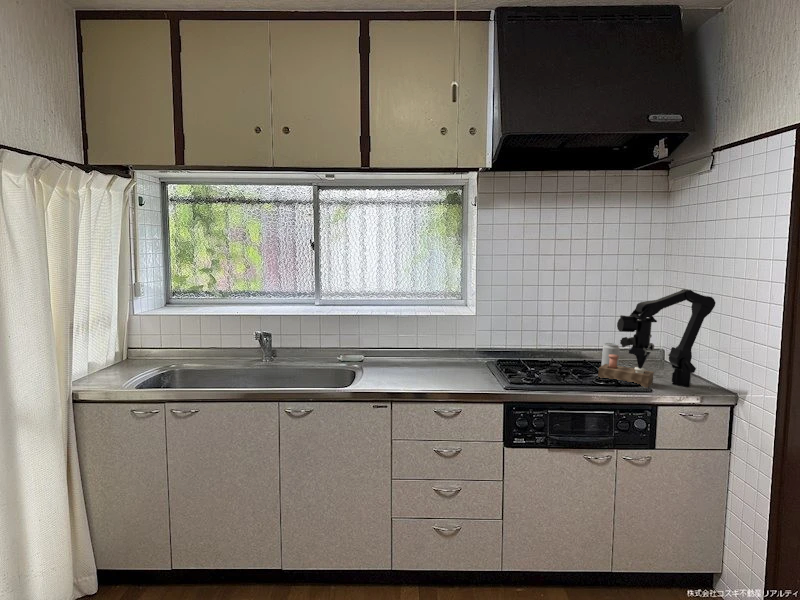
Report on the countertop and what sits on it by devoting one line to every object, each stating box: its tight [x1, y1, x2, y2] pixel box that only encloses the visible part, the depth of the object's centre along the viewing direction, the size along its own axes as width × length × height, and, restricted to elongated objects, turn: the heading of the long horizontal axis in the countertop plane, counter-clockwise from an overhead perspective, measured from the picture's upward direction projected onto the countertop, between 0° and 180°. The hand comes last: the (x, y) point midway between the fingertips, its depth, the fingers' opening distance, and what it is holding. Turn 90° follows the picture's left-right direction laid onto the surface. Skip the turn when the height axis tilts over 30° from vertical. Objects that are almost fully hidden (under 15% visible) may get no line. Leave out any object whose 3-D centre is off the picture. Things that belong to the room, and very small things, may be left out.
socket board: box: [597, 364, 655, 389], centre depth 223 cm, size 20×10×5 cm, turn 53°
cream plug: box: [634, 366, 646, 374], centre depth 220 cm, size 4×4×6 cm
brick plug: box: [609, 354, 620, 369], centre depth 226 cm, size 4×4×6 cm
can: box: [600, 342, 621, 367], centre depth 246 cm, size 8×8×12 cm
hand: (640, 368), depth 220 cm, fingers closed, pressing on cream plug
